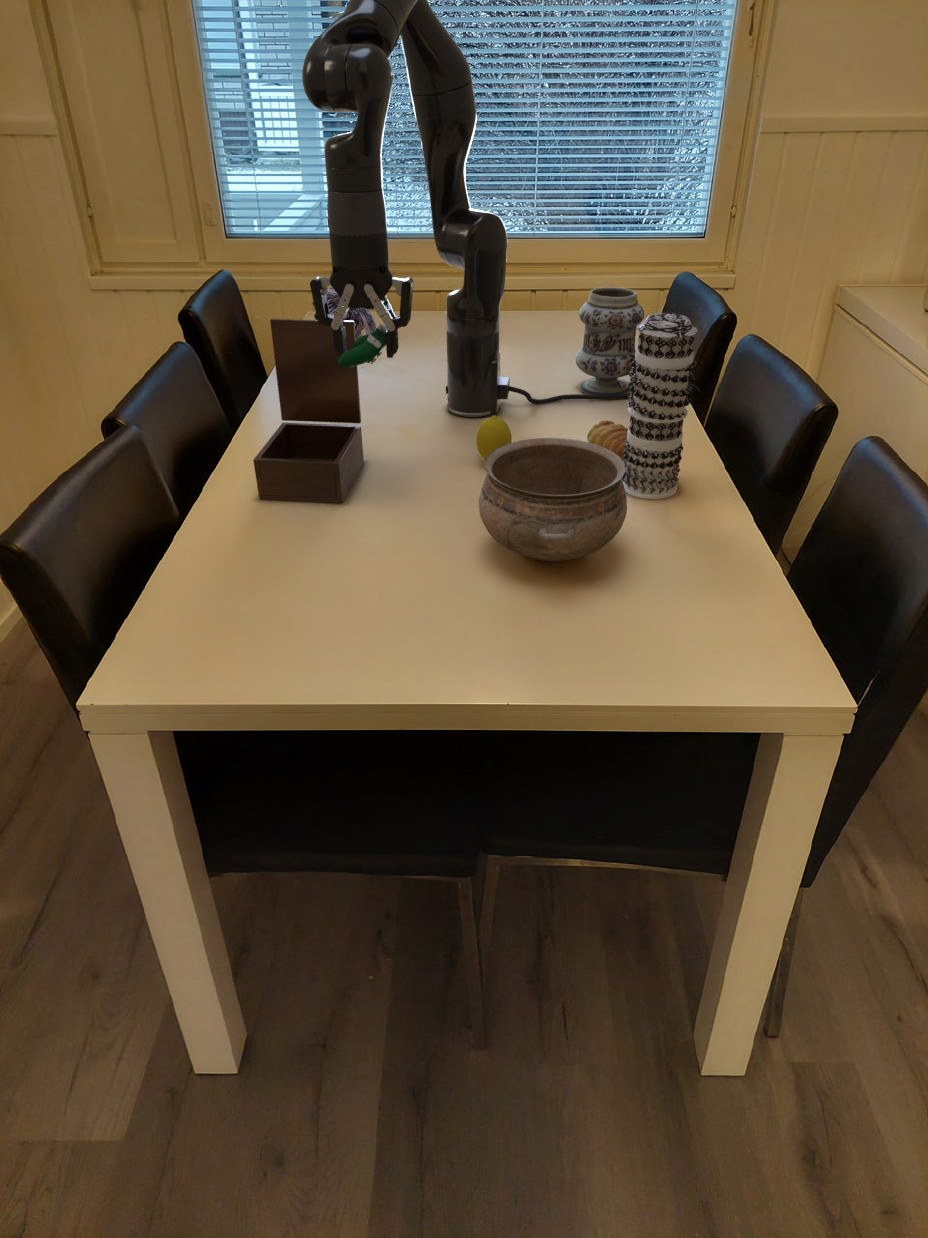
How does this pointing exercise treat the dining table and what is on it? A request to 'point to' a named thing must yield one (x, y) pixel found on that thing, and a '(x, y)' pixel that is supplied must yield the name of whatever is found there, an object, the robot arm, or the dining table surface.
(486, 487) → the cooking pot
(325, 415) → the case cover
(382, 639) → the dining table surface
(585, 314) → the apothecary jar
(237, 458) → the dining table surface
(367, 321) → the decorative flower
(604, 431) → the pastry
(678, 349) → the decorative candle
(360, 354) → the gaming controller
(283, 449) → the case
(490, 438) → the lemon
